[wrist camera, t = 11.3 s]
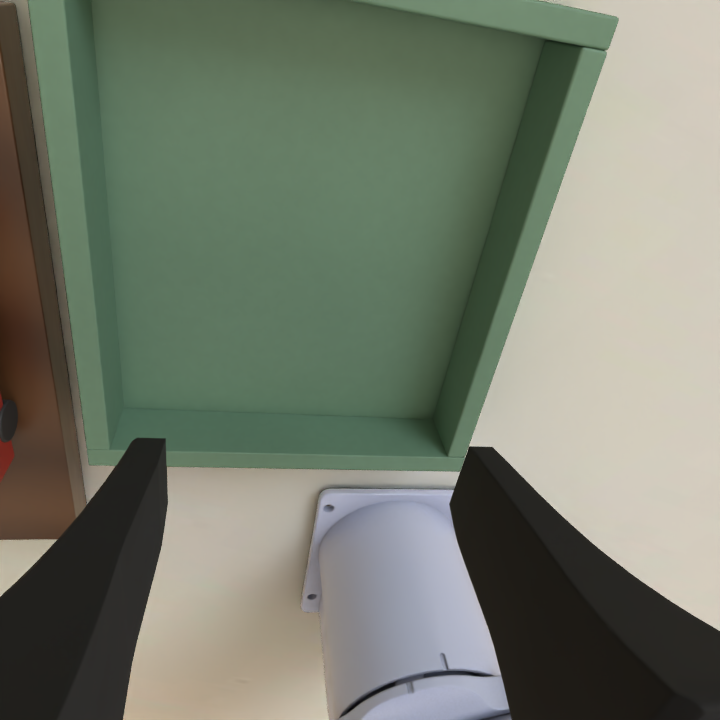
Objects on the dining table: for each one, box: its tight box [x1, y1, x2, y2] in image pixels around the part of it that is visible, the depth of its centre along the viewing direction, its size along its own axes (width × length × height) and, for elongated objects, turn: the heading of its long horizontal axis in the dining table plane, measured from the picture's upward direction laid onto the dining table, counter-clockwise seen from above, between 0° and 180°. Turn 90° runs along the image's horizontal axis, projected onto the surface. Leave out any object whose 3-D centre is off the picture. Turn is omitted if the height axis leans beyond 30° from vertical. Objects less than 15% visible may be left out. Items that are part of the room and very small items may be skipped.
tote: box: [28, 0, 618, 472], centre depth 19 cm, size 17×15×3 cm
